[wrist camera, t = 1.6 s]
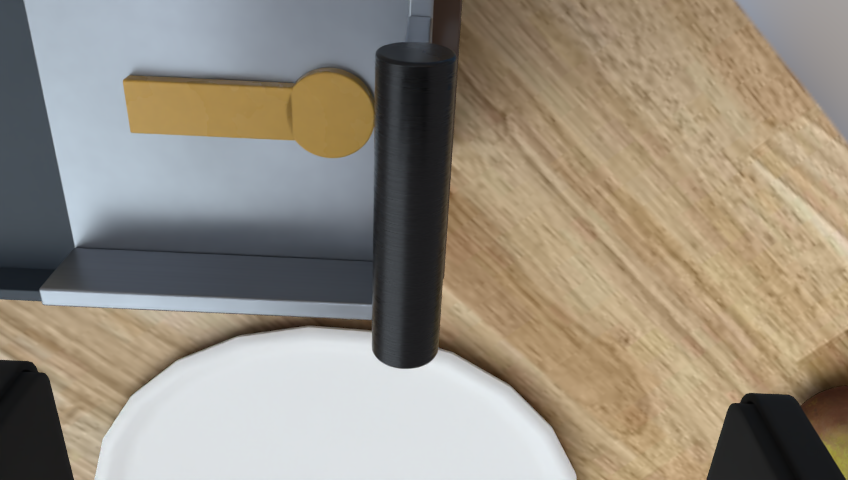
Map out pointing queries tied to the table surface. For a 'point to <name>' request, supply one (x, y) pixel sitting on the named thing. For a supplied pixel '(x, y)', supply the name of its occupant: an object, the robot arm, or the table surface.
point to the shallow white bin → (252, 166)
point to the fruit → (831, 422)
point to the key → (257, 109)
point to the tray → (26, 169)
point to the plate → (326, 417)
